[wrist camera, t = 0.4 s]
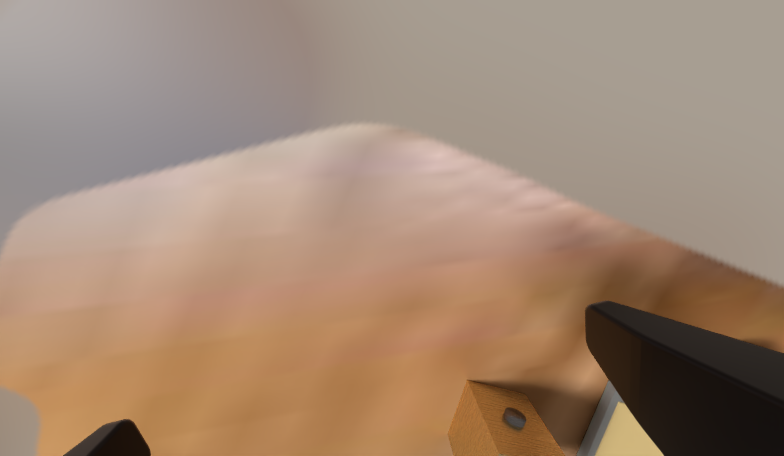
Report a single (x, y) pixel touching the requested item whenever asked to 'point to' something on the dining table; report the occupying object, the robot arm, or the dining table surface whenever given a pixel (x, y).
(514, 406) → the block
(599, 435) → the board
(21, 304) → the dining table surface
